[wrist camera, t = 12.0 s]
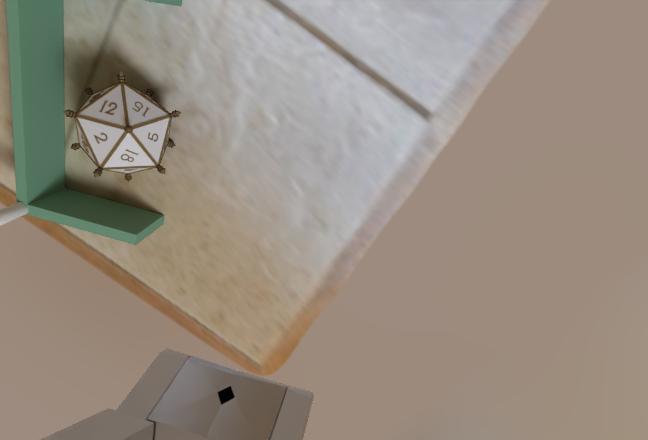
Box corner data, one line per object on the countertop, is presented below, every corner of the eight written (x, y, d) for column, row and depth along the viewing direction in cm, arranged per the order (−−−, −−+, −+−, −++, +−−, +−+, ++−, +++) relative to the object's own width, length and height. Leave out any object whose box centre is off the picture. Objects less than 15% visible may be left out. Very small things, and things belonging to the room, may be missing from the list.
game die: (175, 135, 46) (127, 219, 41) (92, 81, 42) (29, 166, 37) (215, 96, 39) (164, 189, 34) (121, 27, 35) (49, 121, 30)
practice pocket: (13, -48, 38) (-286, -113, 22) (182, -8, 37) (3, -45, 21) (24, 186, 47) (-187, 267, 30) (163, 225, 45) (24, 331, 29)
